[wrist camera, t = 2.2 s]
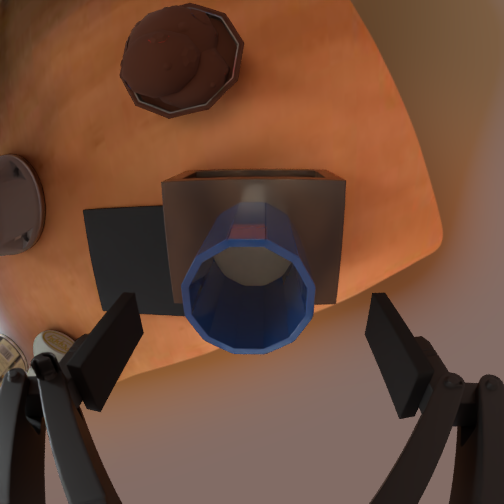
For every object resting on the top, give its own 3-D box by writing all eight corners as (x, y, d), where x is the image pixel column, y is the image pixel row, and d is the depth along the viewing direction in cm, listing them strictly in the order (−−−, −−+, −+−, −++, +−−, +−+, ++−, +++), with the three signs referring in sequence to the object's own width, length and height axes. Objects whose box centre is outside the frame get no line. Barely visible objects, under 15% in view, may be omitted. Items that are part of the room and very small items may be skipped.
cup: (211, 286, 29) (189, 352, 20) (206, 202, 27) (175, 239, 17) (296, 286, 29) (309, 354, 20) (299, 202, 26) (319, 239, 17)
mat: (103, 309, 42) (102, 310, 41) (84, 209, 37) (82, 210, 36) (186, 314, 41) (186, 316, 41) (175, 205, 36) (174, 205, 36)
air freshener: (95, 347, 45) (68, 387, 35) (91, 377, 47) (68, 415, 38) (43, 317, 43) (12, 350, 34) (43, 349, 46) (16, 382, 37)
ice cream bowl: (257, 110, 32) (252, 90, 18) (161, 131, 33) (97, 130, 19) (241, 27, 28) (226, -37, 14) (148, 50, 29) (84, 10, 15)
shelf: (192, 267, 39) (174, 303, 30) (185, 170, 35) (161, 181, 26) (321, 267, 38) (335, 304, 30) (326, 169, 34) (346, 180, 25)
